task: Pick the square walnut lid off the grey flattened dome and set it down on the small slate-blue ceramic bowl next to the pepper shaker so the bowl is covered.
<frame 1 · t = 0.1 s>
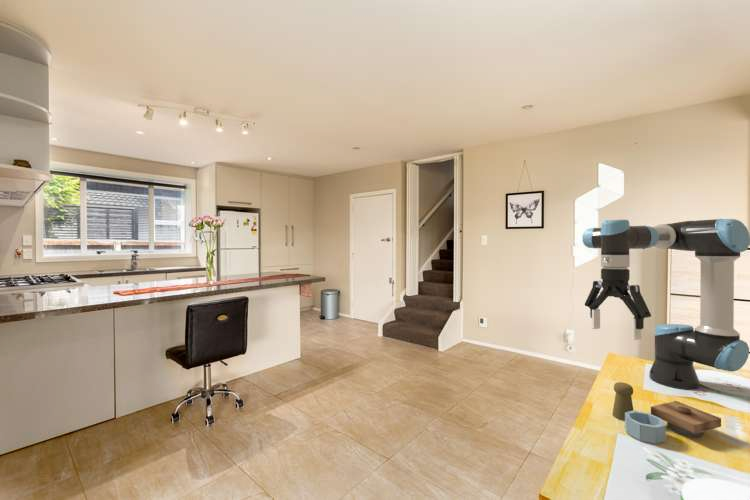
hand: (615, 333, 110), 28 cm above the table, fingers open, 13 cm apart
bowl: (644, 435, 101), on the table
pepper shaker: (623, 417, 112), on the table
lid: (684, 420, 103), point 3 cm above the table, touching grey flattened dome
grey flattened dome: (684, 430, 103), on the table
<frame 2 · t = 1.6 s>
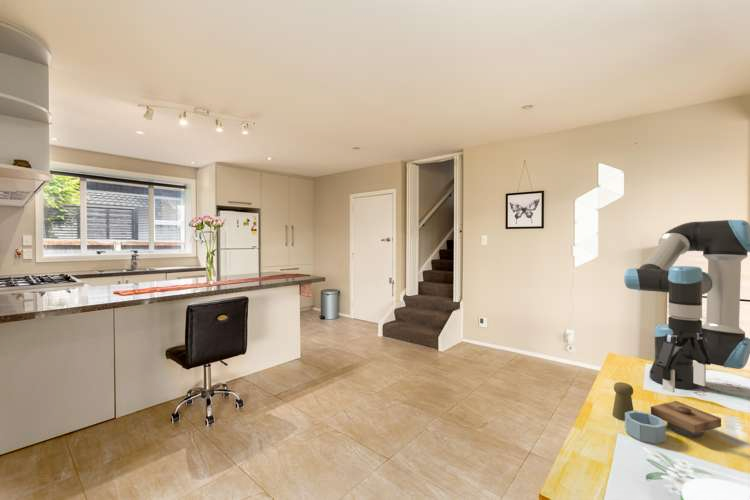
hand: (684, 387, 103), 13 cm above the table, fingers open, 13 cm apart
nothing on the table moved.
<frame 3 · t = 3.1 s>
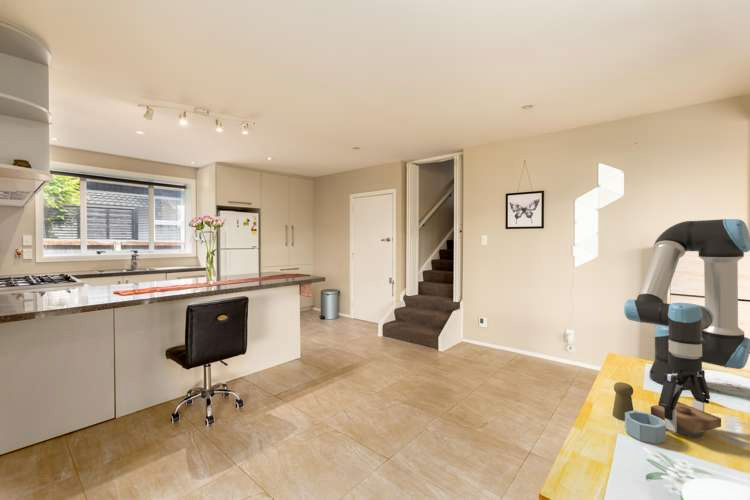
hand: (684, 426, 103), 1 cm above the table, fingers closed on lid, 11 cm apart
lid: (684, 420, 103), point 3 cm above the table, touching gripper, grey flattened dome
everything else where it was.
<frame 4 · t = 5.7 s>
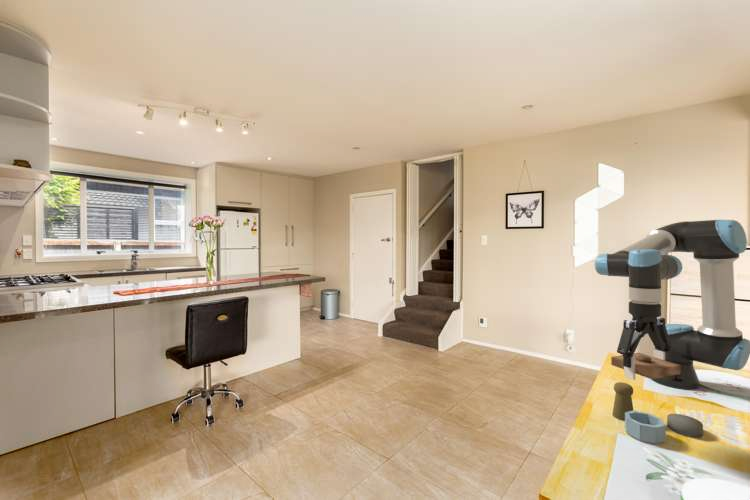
hand: (644, 375, 101), 18 cm above the table, fingers closed on lid, 11 cm apart
lid: (644, 369, 100), point 20 cm above the table, touching gripper
everything else where it was.
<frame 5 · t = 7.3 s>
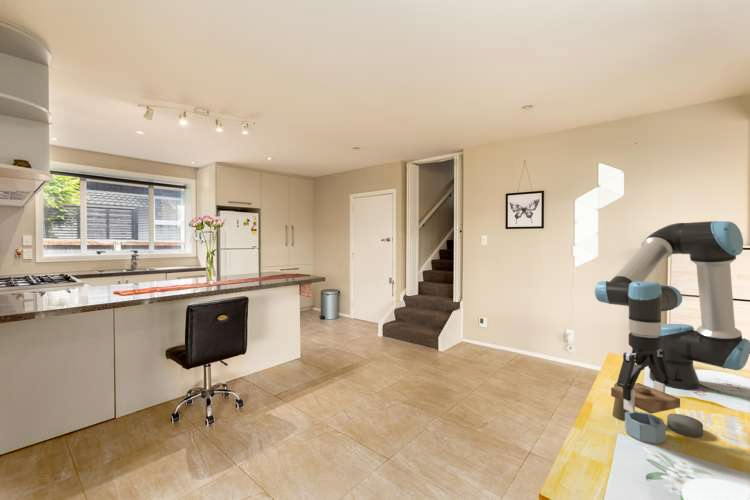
hand: (644, 407, 101), 8 cm above the table, fingers closed on lid, 11 cm apart
lid: (644, 401, 101), point 10 cm above the table, touching gripper
everything else where it was.
when the fingers open (5 cm above the table, at t = 8.6 s): lid drops 2 cm, resting on bowl.
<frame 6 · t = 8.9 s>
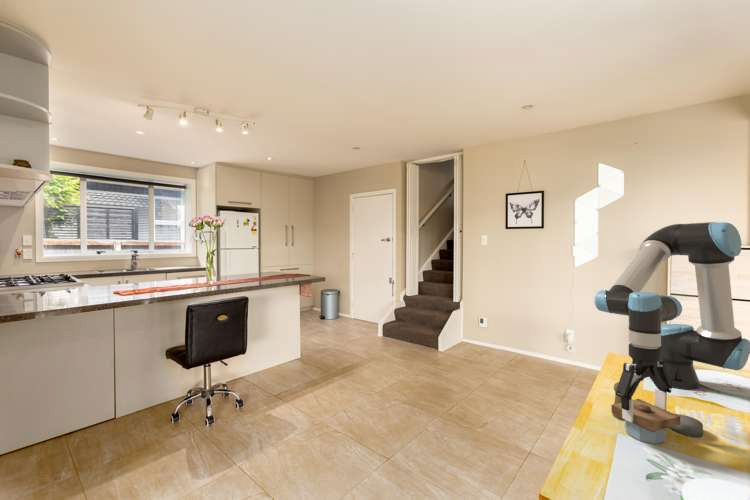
hand: (644, 416, 101), 6 cm above the table, fingers open, 13 cm apart
lid: (644, 418, 101), point 5 cm above the table, touching bowl
everything else where it was.
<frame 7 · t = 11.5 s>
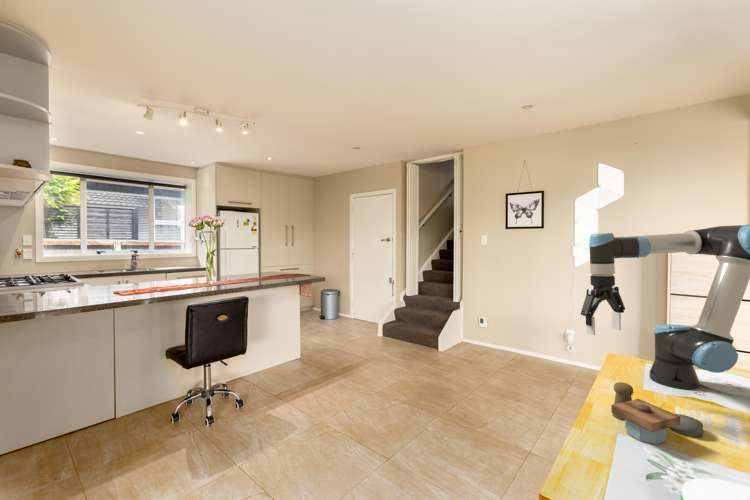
hand: (603, 331, 126), 24 cm above the table, fingers open, 13 cm apart
nothing on the table moved.
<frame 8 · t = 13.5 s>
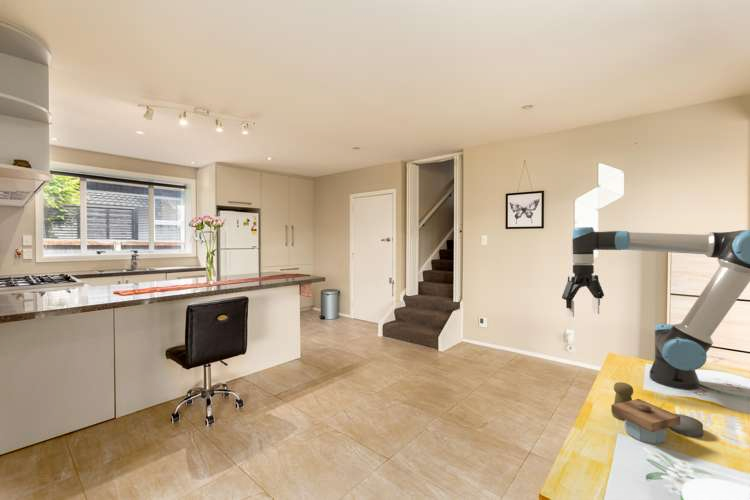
hand: (583, 314, 143), 27 cm above the table, fingers open, 13 cm apart
nothing on the table moved.
at the end: lid 0.1 cm from the bowl (horizontally); lid point 5.0 cm above the table; lid tilted 0° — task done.
